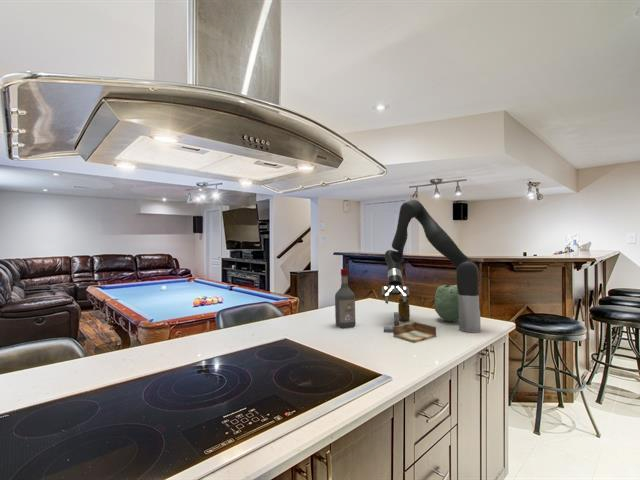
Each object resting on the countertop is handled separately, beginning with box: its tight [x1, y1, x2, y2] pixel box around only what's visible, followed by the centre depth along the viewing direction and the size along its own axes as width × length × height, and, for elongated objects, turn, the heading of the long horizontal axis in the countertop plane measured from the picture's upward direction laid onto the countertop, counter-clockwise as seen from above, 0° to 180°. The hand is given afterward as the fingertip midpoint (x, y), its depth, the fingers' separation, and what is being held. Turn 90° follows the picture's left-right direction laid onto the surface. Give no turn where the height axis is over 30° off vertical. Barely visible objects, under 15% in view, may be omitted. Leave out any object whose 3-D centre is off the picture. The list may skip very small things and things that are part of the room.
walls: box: [392, 321, 437, 336], centre depth 148 cm, size 15×12×4 cm
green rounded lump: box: [433, 284, 459, 322], centre depth 177 cm, size 16×19×20 cm
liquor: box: [334, 268, 356, 329], centre depth 171 cm, size 9×9×30 cm
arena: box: [392, 330, 437, 344], centre depth 148 cm, size 15×12×1 cm
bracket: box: [383, 311, 400, 334], centre depth 158 cm, size 8×4×9 cm, turn 78°
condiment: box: [397, 297, 415, 323], centre depth 180 cm, size 7×8×12 cm
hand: (395, 303), depth 166 cm, fingers open, 8 cm apart
